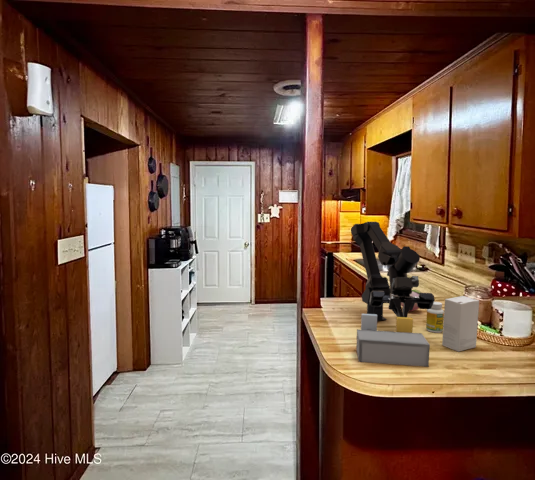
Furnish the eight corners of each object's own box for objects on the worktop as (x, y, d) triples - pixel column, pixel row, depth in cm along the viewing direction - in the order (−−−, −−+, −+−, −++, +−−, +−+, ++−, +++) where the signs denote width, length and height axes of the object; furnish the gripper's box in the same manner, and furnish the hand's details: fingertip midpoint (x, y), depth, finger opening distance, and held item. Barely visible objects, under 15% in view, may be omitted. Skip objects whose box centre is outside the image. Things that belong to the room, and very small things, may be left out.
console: (356, 349, 113) (357, 329, 113) (420, 353, 110) (421, 333, 110) (358, 361, 104) (359, 340, 104) (428, 366, 102) (429, 344, 101)
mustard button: (395, 342, 116) (396, 316, 116) (410, 343, 116) (411, 317, 115) (400, 354, 107) (402, 326, 106) (417, 355, 106) (419, 327, 105)
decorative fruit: (424, 310, 156) (425, 286, 155) (420, 315, 149) (421, 290, 148) (400, 307, 161) (401, 283, 160) (395, 311, 154) (396, 287, 153)
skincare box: (459, 341, 121) (462, 295, 119) (477, 348, 115) (480, 299, 114) (440, 345, 117) (443, 297, 116) (458, 352, 112) (461, 302, 110)
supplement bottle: (431, 327, 135) (433, 300, 134) (446, 331, 131) (447, 303, 130) (422, 329, 132) (424, 302, 131) (436, 334, 128) (438, 305, 127)
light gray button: (360, 338, 119) (361, 313, 118) (375, 339, 119) (376, 314, 118) (363, 350, 110) (364, 322, 109) (379, 351, 109) (380, 323, 108)
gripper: (371, 265, 121) (375, 308, 111) (434, 267, 118) (443, 312, 108) (368, 285, 129) (370, 327, 119) (426, 287, 126) (434, 330, 117)
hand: (404, 324), depth 116 cm, fingers closed, pressing on mustard button
